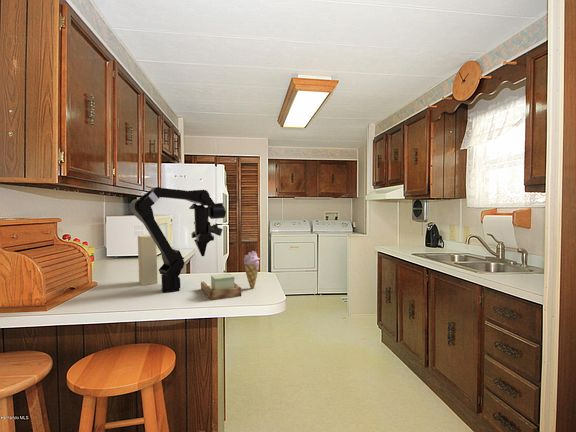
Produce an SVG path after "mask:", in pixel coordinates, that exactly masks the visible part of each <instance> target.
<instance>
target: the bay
mask: <svg viewBox="0 0 576 432" xmlns="http://www.w3.org/2000/svg"><path fill="white" fill-rule="evenodd" d="M200 289H201V291H202V292H203V294H204V295H205V296H206V297H207V298H208V299H209V300H210V301H213V300H222V299H228V298H237V297H242V295H243V294H242V287H241V286H239V285H238V284H237V283H235V282H234V288H230V289H222V290H214V291H213V290H212V288H211V285H208V284H207V283H206V282H205V281H200Z"/></svg>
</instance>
